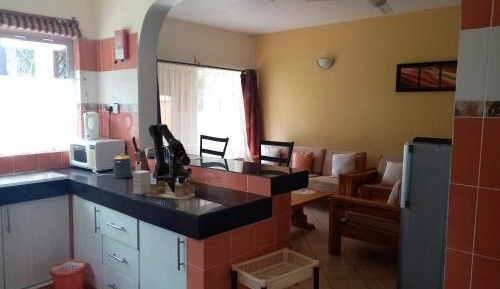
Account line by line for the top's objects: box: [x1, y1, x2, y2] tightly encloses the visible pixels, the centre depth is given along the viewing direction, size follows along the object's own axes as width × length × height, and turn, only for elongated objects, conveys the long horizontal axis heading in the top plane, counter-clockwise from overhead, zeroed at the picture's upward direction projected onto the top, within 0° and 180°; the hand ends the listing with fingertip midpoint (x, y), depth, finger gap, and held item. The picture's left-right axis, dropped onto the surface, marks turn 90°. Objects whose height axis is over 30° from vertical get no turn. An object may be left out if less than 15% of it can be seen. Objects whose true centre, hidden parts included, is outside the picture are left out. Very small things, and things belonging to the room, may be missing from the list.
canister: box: [112, 152, 133, 180], centre depth 269 cm, size 13×13×18 cm
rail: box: [165, 182, 196, 194], centre depth 216 cm, size 4×20×5 cm, turn 70°
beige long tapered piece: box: [144, 181, 196, 200], centre depth 208 cm, size 10×26×7 cm, turn 70°
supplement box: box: [132, 170, 152, 195], centre depth 216 cm, size 7×7×13 cm
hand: (177, 190), depth 216 cm, fingers open, 9 cm apart
